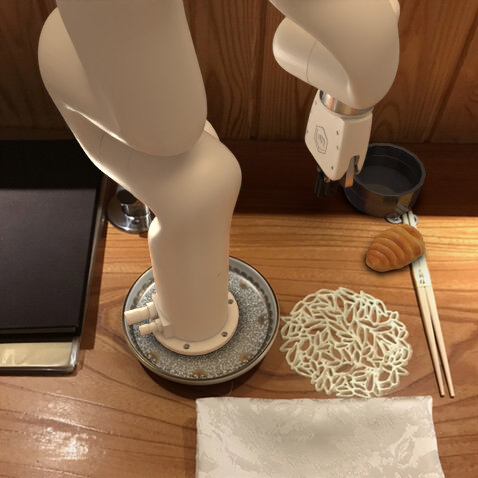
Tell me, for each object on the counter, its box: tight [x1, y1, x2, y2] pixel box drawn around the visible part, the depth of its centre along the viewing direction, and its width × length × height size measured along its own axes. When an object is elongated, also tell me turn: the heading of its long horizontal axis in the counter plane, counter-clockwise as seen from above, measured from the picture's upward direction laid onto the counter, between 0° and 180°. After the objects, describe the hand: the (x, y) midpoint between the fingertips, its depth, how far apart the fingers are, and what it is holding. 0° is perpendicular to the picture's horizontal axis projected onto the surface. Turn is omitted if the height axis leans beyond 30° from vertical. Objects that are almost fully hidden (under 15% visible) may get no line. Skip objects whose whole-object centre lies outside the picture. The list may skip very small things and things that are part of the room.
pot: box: [343, 142, 427, 219], centre depth 93 cm, size 12×12×5 cm
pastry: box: [365, 223, 427, 273], centre depth 86 cm, size 9×7×4 cm
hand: (324, 193), depth 89 cm, fingers closed
